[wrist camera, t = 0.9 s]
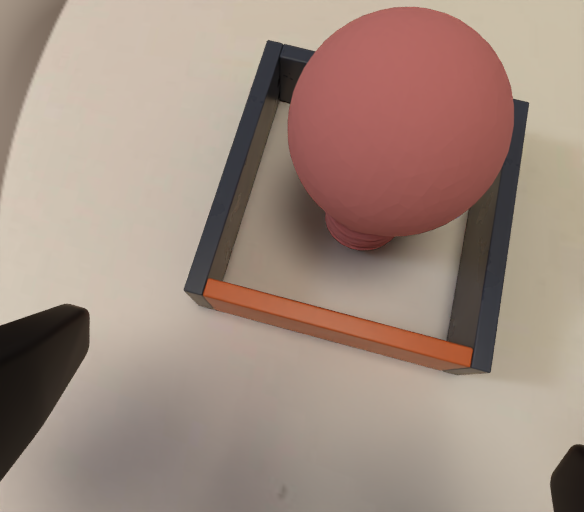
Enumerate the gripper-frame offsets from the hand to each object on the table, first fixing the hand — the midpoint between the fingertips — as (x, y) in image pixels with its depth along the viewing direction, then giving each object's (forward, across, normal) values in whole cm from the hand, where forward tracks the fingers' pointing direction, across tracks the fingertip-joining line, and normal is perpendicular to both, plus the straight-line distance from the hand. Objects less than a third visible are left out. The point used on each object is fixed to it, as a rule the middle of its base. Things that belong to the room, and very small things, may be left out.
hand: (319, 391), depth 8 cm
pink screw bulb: (+16, -1, +3) cm, 16 cm away
